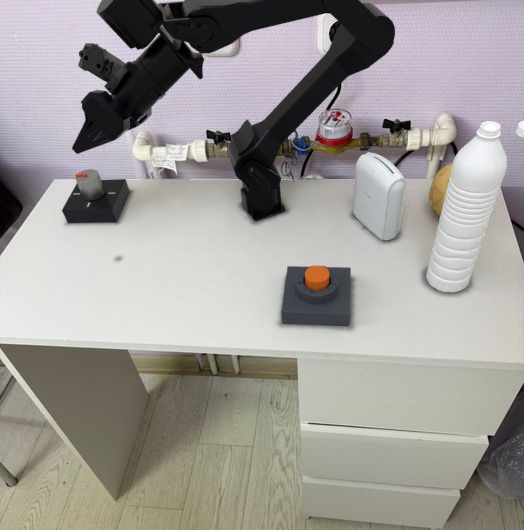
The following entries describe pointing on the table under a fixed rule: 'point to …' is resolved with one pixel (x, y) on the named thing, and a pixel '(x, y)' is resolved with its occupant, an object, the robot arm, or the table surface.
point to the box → (317, 298)
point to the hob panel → (97, 204)
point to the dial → (90, 184)
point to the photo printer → (378, 195)
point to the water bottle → (468, 208)
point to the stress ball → (439, 188)
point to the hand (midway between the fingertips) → (84, 145)
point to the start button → (317, 277)
